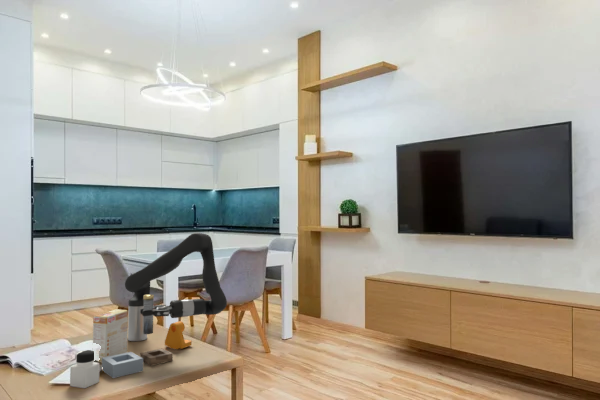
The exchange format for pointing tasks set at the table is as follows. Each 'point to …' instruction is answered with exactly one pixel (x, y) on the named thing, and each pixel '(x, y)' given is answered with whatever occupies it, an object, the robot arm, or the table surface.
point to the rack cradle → (122, 364)
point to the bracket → (176, 336)
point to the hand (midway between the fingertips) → (141, 312)
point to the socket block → (156, 356)
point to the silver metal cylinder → (148, 319)
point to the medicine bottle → (84, 370)
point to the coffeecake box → (111, 332)
